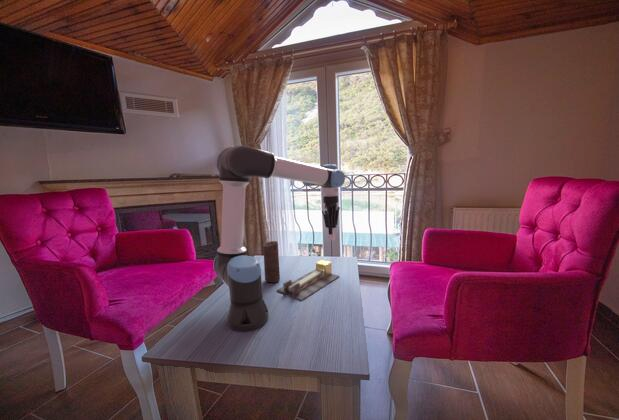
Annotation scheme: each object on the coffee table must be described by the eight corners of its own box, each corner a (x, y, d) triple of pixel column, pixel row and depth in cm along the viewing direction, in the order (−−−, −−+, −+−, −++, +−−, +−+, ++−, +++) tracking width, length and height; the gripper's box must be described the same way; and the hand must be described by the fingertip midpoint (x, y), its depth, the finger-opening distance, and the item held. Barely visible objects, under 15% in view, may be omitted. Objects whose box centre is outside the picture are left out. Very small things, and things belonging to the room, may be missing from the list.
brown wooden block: (279, 284, 128) (276, 244, 124) (263, 284, 128) (261, 245, 124) (280, 277, 135) (278, 239, 132) (266, 277, 135) (264, 240, 132)
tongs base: (301, 301, 111) (300, 289, 111) (276, 291, 121) (276, 280, 120) (339, 276, 134) (339, 267, 133) (316, 270, 143) (315, 261, 142)
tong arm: (293, 293, 116) (292, 288, 115) (287, 290, 118) (287, 286, 118) (321, 274, 131) (321, 271, 131) (316, 273, 134) (316, 269, 133)
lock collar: (325, 277, 132) (325, 265, 131) (316, 274, 136) (315, 262, 135) (331, 273, 136) (331, 262, 135) (322, 271, 140) (321, 259, 139)
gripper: (329, 197, 127) (330, 244, 131) (343, 193, 137) (344, 237, 141) (316, 196, 132) (318, 241, 136) (331, 193, 142) (333, 235, 146)
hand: (332, 239), depth 139 cm, fingers closed
